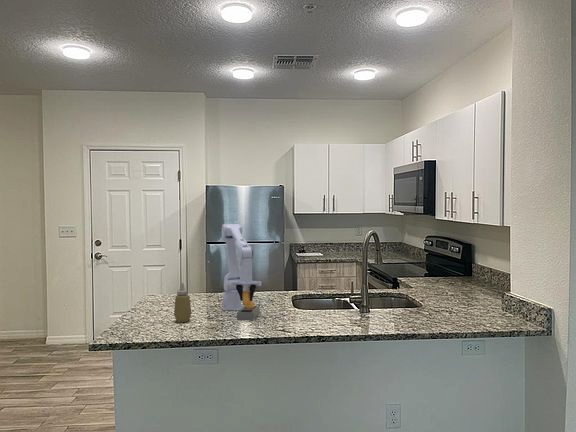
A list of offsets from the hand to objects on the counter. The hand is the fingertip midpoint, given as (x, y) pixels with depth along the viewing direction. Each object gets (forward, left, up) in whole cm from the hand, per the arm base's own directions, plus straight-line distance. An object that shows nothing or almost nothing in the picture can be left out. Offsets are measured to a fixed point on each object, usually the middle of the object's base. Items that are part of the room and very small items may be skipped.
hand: (246, 300), depth 218 cm
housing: (0, +4, -8) cm, 9 cm away
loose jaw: (0, 0, -2) cm, 2 cm away
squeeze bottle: (-29, -7, -9) cm, 31 cm away
